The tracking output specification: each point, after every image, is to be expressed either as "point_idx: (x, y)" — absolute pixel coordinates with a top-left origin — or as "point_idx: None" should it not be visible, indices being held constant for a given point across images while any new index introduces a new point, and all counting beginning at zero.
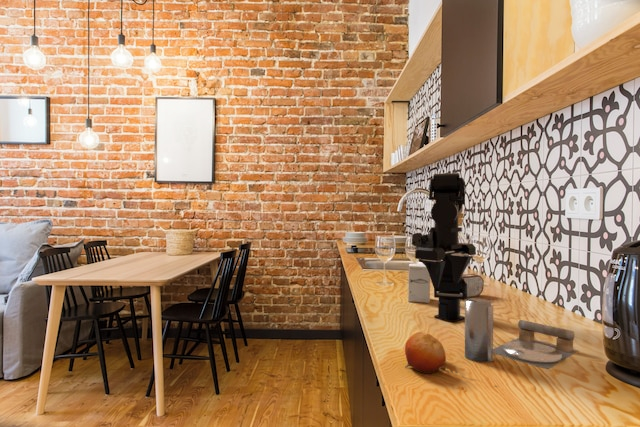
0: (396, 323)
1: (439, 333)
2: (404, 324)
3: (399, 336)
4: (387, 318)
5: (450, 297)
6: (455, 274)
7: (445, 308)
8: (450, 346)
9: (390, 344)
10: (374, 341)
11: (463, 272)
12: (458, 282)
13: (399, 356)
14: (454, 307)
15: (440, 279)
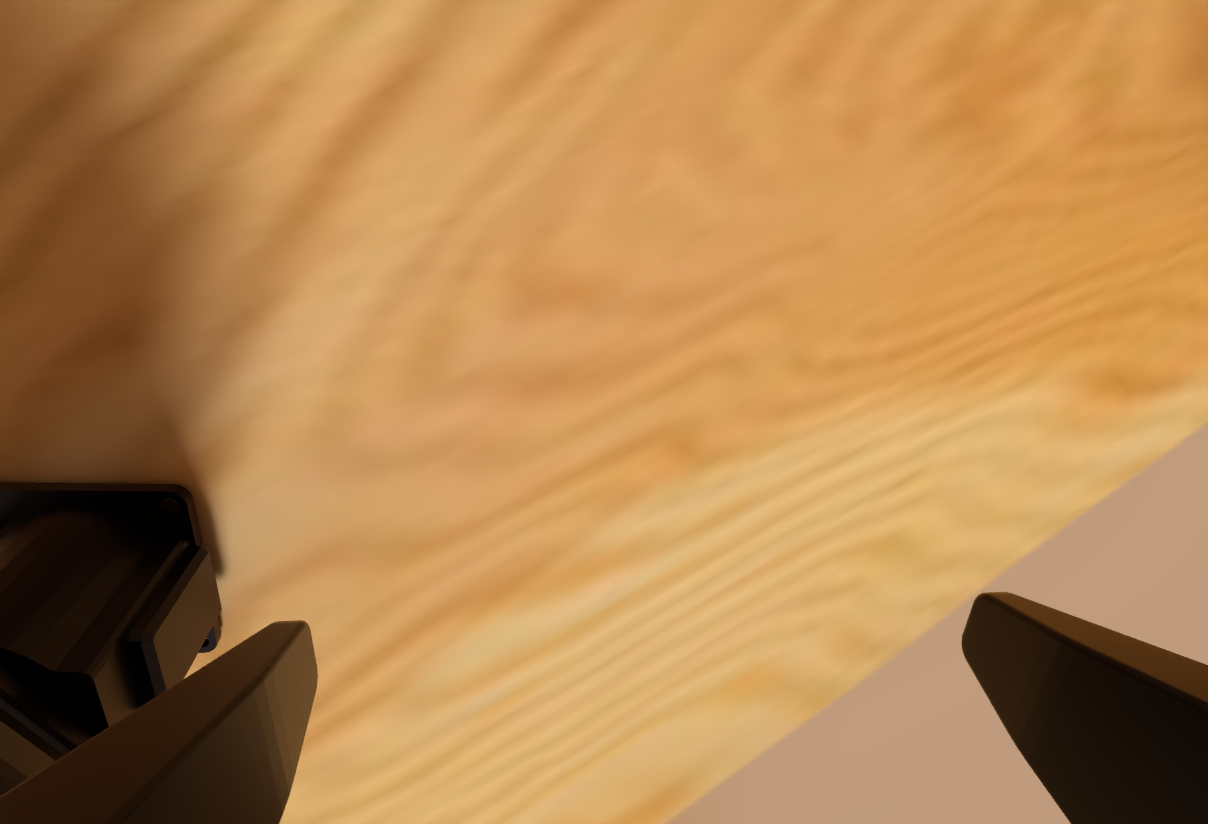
0: (586, 694)
1: (552, 396)
2: (562, 656)
3: (827, 527)
4: (535, 782)
5: (20, 694)
6: (247, 820)
7: (169, 616)
8: (789, 163)
9: (1012, 468)
10: (1014, 557)
11: (59, 765)
12: (275, 624)
13: (1197, 300)
14: (59, 582)
15: (1146, 667)
